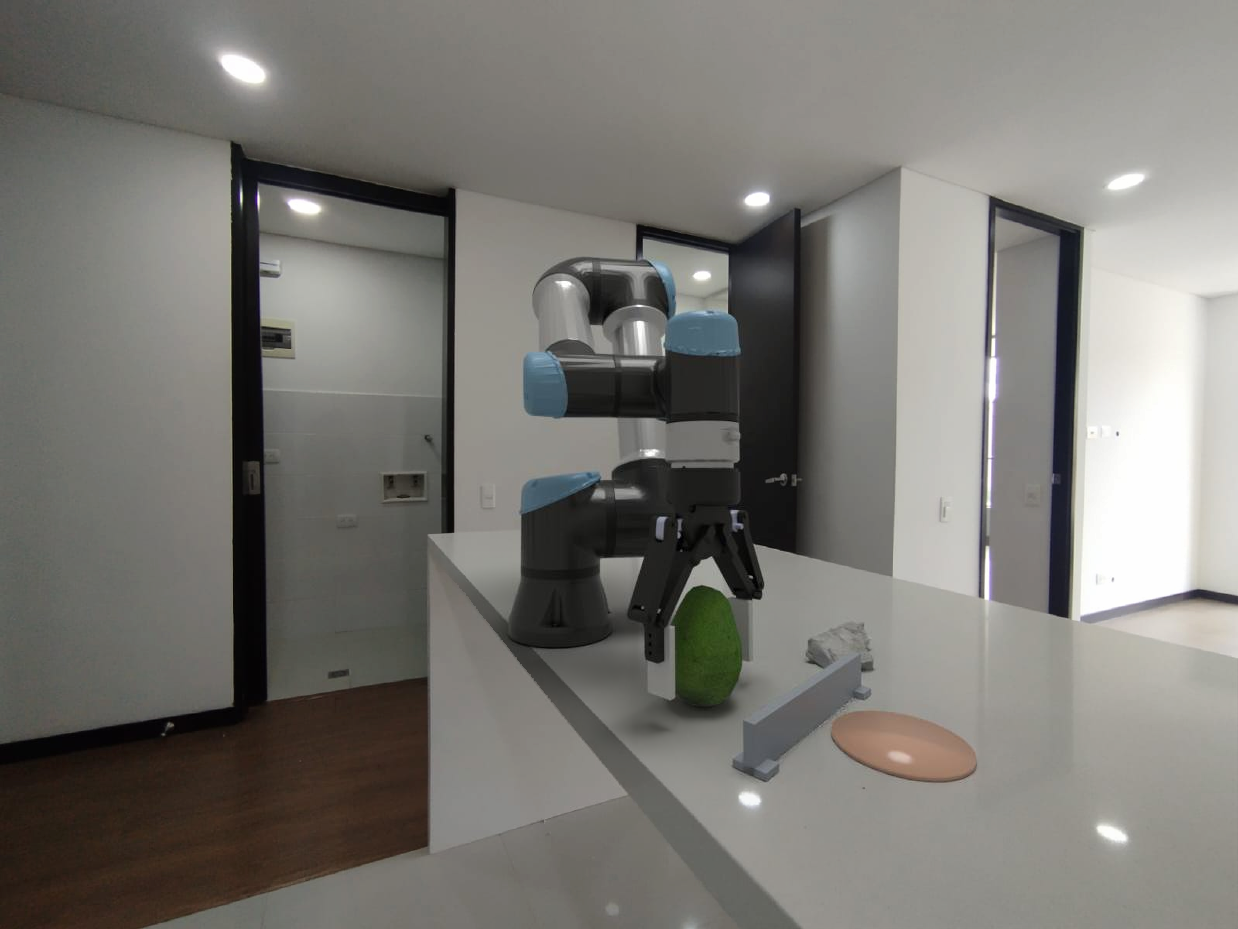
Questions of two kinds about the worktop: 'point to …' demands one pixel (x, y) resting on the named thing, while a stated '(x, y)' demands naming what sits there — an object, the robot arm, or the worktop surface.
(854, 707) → the worktop surface
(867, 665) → the stone
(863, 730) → the saucer
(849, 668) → the acrylic wall
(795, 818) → the worktop surface
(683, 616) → the fruit
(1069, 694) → the worktop surface
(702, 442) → the robot arm
